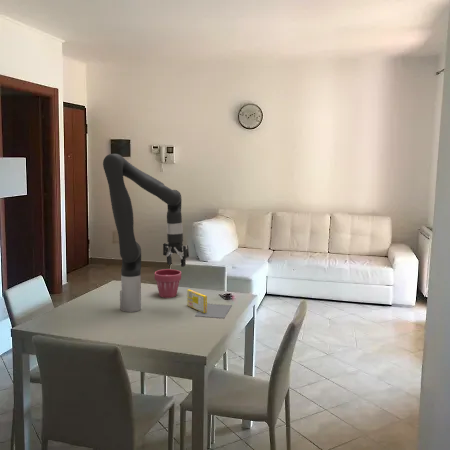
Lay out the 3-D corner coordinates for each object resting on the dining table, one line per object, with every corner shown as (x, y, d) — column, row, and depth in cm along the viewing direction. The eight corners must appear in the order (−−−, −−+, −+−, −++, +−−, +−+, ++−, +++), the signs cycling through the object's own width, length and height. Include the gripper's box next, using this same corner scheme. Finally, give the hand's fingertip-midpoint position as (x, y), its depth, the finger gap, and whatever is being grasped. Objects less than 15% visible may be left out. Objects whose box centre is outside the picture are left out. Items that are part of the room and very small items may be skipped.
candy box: (207, 312, 240) (207, 295, 239) (203, 313, 239) (203, 296, 238) (190, 304, 253) (189, 288, 252) (186, 305, 252) (186, 289, 251)
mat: (194, 316, 236) (194, 315, 236) (204, 303, 256) (204, 303, 256) (224, 318, 234) (224, 317, 233) (231, 305, 253) (231, 305, 253)
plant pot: (175, 300, 261) (175, 276, 259) (150, 297, 265) (150, 274, 263) (185, 293, 274) (185, 270, 273) (161, 290, 278) (161, 268, 276)
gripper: (158, 232, 241) (160, 265, 243) (181, 234, 232) (182, 268, 235) (169, 229, 247) (170, 262, 249) (191, 232, 238) (192, 265, 241)
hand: (176, 265), depth 242 cm, fingers open, 8 cm apart
